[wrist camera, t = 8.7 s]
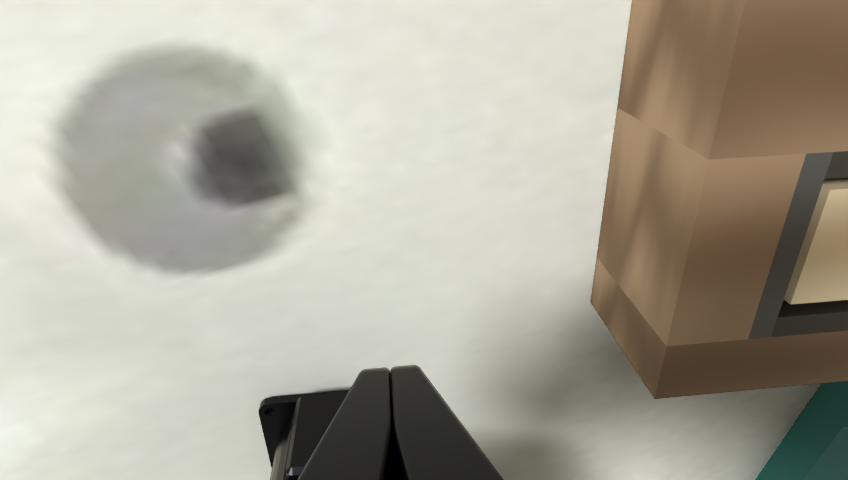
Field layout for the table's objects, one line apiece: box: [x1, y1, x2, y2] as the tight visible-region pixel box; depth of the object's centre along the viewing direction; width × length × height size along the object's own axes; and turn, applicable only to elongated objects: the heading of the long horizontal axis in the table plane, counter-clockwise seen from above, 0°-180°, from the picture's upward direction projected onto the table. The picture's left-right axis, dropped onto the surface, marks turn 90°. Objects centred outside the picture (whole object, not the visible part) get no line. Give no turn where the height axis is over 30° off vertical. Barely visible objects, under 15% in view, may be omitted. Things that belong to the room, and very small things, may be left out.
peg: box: [784, 178, 848, 305], centre depth 19 cm, size 4×4×6 cm
